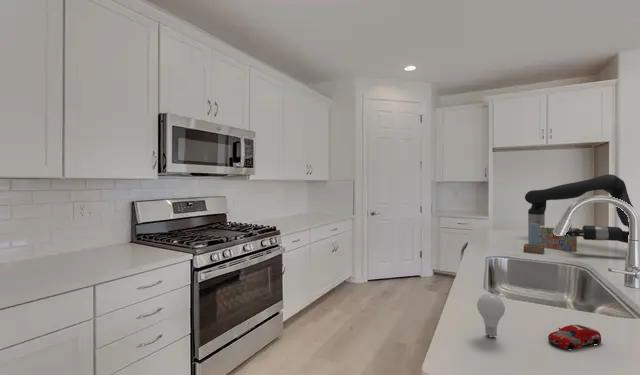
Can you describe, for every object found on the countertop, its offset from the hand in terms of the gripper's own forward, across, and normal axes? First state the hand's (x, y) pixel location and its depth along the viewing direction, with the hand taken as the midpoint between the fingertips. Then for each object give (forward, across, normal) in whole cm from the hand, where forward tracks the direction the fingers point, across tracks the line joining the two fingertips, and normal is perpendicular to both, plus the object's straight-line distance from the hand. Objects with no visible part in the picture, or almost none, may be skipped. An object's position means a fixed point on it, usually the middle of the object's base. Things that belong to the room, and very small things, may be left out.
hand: (557, 231), depth 176 cm
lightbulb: (+32, +121, +12) cm, 126 cm away
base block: (+11, 0, +12) cm, 16 cm away
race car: (+14, +116, +13) cm, 117 cm away
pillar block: (+11, 0, +8) cm, 14 cm away
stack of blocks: (-1, -17, +12) cm, 21 cm away
